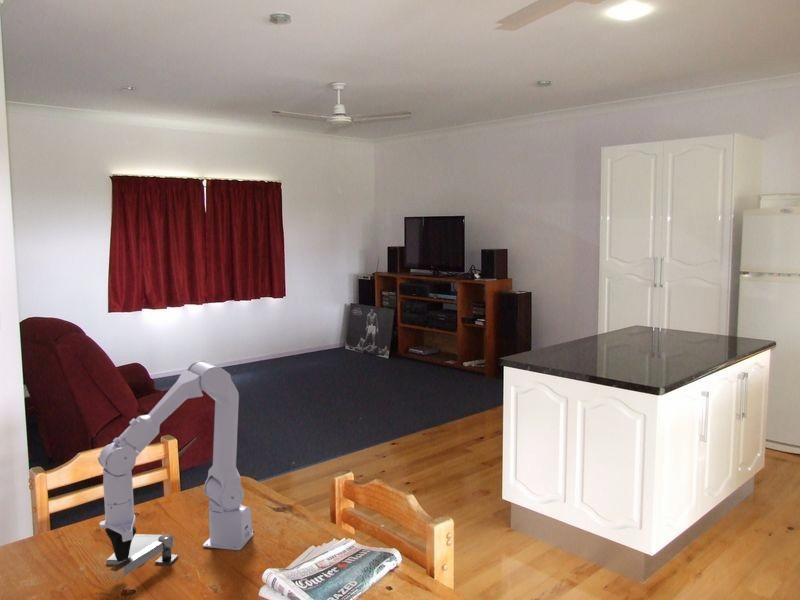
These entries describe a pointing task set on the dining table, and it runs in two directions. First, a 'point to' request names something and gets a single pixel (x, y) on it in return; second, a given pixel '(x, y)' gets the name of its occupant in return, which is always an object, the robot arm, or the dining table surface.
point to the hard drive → (135, 546)
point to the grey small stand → (166, 558)
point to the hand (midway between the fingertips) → (122, 559)
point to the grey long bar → (141, 557)
